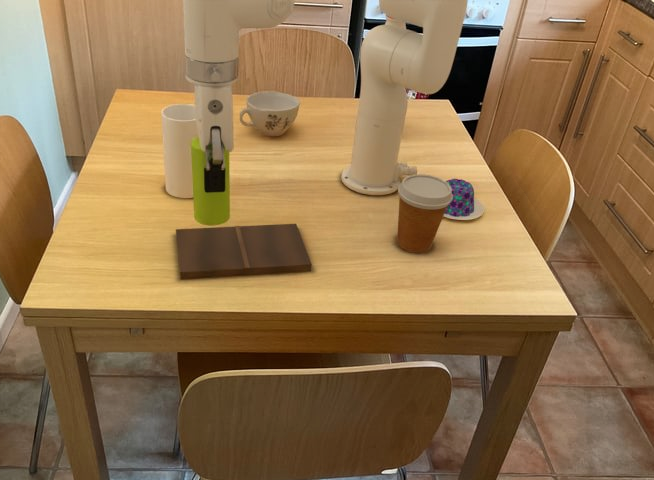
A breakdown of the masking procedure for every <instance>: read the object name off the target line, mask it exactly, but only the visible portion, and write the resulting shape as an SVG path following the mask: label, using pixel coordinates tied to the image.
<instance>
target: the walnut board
mask: <svg viewBox="0 0 654 480" xmlns="http://www.w3.org/2000/svg"><path fill="white" fill-rule="evenodd" d="M175 239H176V248H177V249H176V250H177V257H178V267H179V268H178V269H179V279H180V280H193V279H194V280H195V279H208V278H223V277H224V278H225V277H239V276H240V277H241V276H254V275H255V276H256V275H272V274H273V275H274V274H288V273H305V272H312V267H313V263H312V261H311V258H310V256H309V253H308V250H307V248H306V245H305V242H304V240H303V238H302V235H301V232H300V230H299V227H298V225H297V223H277V224H257V225H256V224H255V225H235V226H217V227H215V226H212V227H196V228H194V227H193V228H176V229H175Z"/></svg>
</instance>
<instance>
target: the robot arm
mask: <svg viewBox="0 0 654 480" xmlns="http://www.w3.org/2000/svg"><path fill="white" fill-rule="evenodd" d="M468 2H469V1H468V0H378V4H379V8H380V10H381V11H382V13H383V14H385V16H386V15H388V16H390V17H392V18H395V19H397V20H400V21H403V22H406V24H409V25H410V24H411V25H414V26H417V27H420V28H422V33H419V32H417V31H415V30H410V29H407V28H406V29H404V28H401V27H398V26H393V25H385V24H380V25H377V26H375V27H373V28H371V29H369V31H368V32H367V33H366V34H365V36H364V38H363V40H362V42H361V46H360V52H359V53H360V54H359V59H360V61H359V63H360V91H359V92H360V93H359V101H358V109H357V115H356V116H357V117H356V123H355V128H354V136H353V142H352V151H351V157H350V165H349V166H347V167H345V168H344V169H343V170H342V171H341V177H340V179H341V182H342V183H343V185H344V186H346V187H347V188H348V189H350V190H352V191H354V192H356V193H359V194H363V195H368V196H385V195H390V194H392V193H395V192H397V191H398V187H399V185H400V184H401V183H402V180H401V178H403V176H410V175H416V174H418V167H417V166H414V165H413V166H411V165H410V166H409V165H408V162H407V161H406V162H398V159H399V155H400V148H401V143H402V137H403V134H404V133H403V131H404V128H405V122H406V117H407V111H408V92H407V90H411V91H414V92H415V93H419V94H424V95H433V94H435V93H437V92H439V91H440V90H441V89H442V88H443V87H444V85H445V84H446V82H447V80H448V79H449V76H450V74H451V70H452V67H453V63H454V60H455V56H456V52H457V48H458V44H459V40H460V37H461V34H462V29H463V25H464V21H465V16H466V13H467V8H468ZM295 3H296V0H182V8H183V10H182V11H183V36H184V37H183V39H184V40H183V41H184V64H185V65H184V70H185V71H184V73H185V79H186V81H187V82H188V83H190V84H193V89H194V90H193V94H194V95H193V96H194V105H195V116H196V125H197V131H198V137H199V141H200V146H201V150H202V151H204V152H205V159H206V168H204V190H205V192H206V193H212V192H224V191H225V165H224V147H225V149H226V151H229V153H232V152H233V151H234V149H235V144H234V143H235V142H234V141H235V140H234V139H235V138H234V101H233V98H234V97H233V86H232V85H234V84H236V83H237V82H238V81H239V55H240V54H239V52H240V51H239V50H240V48H239V47H240V30H243V29H263V30H264V29H272V28H276V27H277V26H279V25H282V24H283V23H284V22H285V21H287V19H289V17H290V16H291V14H292V12H293V10H294V7H295ZM214 105H215V107H214ZM210 128H211V132H210ZM208 145H212V149H208ZM209 153H212V158H210V159H209Z"/></svg>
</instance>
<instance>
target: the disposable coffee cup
mask: <svg viewBox="0 0 654 480" xmlns="http://www.w3.org/2000/svg"><path fill="white" fill-rule="evenodd" d="M446 181H447V180H444V179H442V178H440V177H437V176H434V175H430V174H421V173H419V174H418V173H417V174H416V175H410V176H408V175H406V177H404V178H403V179H402V180H401V183H400V185H399V187H398V190H397V192H398V195H399V198H398V199H399V201H398V218H397V219H398V220H397V230H396V231H397V232H396V243H397V245H398V247H400V248H401V249H402V250H405V251H406V252H409V253H414V254H422V253H426V252H428V251H430V249H431V248H432V245H433V243H434V241H435V238H436V235H437V233H438V231H439V228H440V226H441V223H442V221H443V218H444V213H445V211H446V208H447V206H448V205H449V203H450V202H451V201H452V199H453V194H452V189H451V186H450V185H449V184H448V183H447V182H446Z"/></svg>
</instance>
